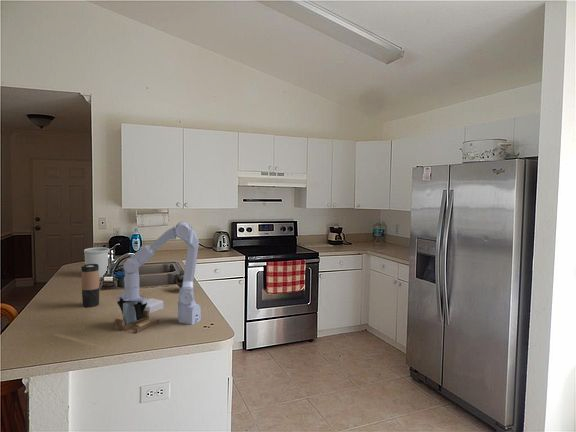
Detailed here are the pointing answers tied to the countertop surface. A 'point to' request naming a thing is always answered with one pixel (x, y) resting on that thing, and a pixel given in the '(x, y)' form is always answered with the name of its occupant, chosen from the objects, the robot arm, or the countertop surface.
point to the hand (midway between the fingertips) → (132, 318)
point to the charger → (154, 305)
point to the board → (129, 312)
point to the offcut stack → (142, 323)
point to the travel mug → (90, 285)
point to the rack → (130, 327)
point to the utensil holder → (97, 258)
